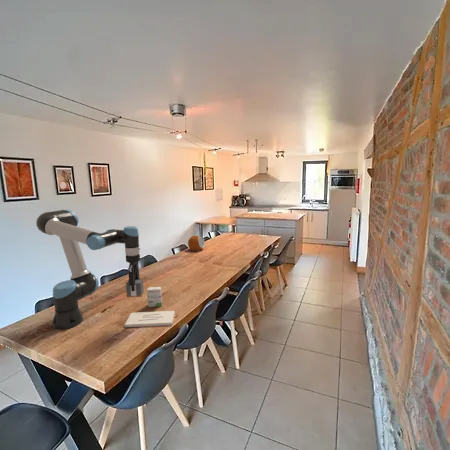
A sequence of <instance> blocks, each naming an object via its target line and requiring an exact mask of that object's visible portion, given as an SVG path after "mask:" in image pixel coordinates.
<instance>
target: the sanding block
mask: <svg viewBox="0 0 450 450" xmlns="http://www.w3.org/2000/svg"><path fill="white" fill-rule="evenodd" d="M135 285H136V296H131V286H129V279H128V280H127V282H126V283H125V287H126V289H125V290H126V291H125V292H126V298H141V297H142V296H143V294H144V293H145V291H144V279H142V278H140V280H135Z"/></svg>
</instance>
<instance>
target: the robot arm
mask: <svg viewBox="0 0 450 450" xmlns="http://www.w3.org/2000/svg"><path fill="white" fill-rule="evenodd" d="M78 225H79V217H78V215H77V214H76V213H75V212H74V211H72V210H71V209H60V210H54V211H46V212H45V211H44V212H43V213H41V214H40V215H38V217H37V218H36V225H35V226H36V227H37V229H38V230H39V232H41V233H43V234H46V235H49V236H54V235H55V236H57V237H59V240H60V242H61V246H62V248H63V251H64V255H65V258H66V261H67V263H68V267H69V270H70V272H71V273H70V274H71V276H70V278H69V280H64V281H61V282H59V283H56V284H55V285H54V287H53V288H52V299H53V305H54V316H53V319H52V327H53V328H54V329H57V330H66V329H71V328H74V327H76V326H79V325H80V324H81V323H82V322H83V321H84V315H83V313H82V312H81V309H80V307H79V301H81V300H82V299H84V298H86V297H88V296H90V295H92V294H94V293H95V292H96V291H97V290H98V289H99V286H100V284H99V283H100V282H99V279H98V277H97V276H96V275H95V274H93V273H92V272H91V270H89V269H88V268H87V264H86V261H85V258H84V255H83V253H82V250H81V247H80V244H79V243H81V244H84V245H87V247H88V248H89V249H90V250H92V251H96V250H101V249H104V248H106V247H109V246H112V245H115V244H124V253H125V262H126V263H129V265H128V268H127V270H128V280H129V286H131V296H136V285H135V280H141V277H140V269H139V261H141V255H140V250H141V248H140V238H139V235H140V233H139V228H138V227H137V226H133V225H132V226H131V225H129V226H125V227H124V228H123V229H115V228H113V229H112V228H111V229H106V231H104V232H95V231H93V230H90V229H85V228H83V227H79V226H78Z"/></svg>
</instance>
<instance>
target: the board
mask: <svg viewBox="0 0 450 450" xmlns="http://www.w3.org/2000/svg"><path fill="white" fill-rule="evenodd" d="M175 314H176V311H175V310H165V311H164V310H162V311H161V310H160V311H142V312H139V311H138V312H131V313H130V314H129V316H128V318H127V320H126V321H125V323H124V328H137V327H159V326H173V323H174V319H175Z"/></svg>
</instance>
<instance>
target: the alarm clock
mask: <svg viewBox="0 0 450 450" xmlns="http://www.w3.org/2000/svg"><path fill="white" fill-rule="evenodd" d="M187 245H188V248H189V250H190V251H192V252H200V251H202V250H203V248H204V247H205V239H204V238H203V237H202V236H200V235H198V234H194V235H192V236H191V237H189V239H188V240H187Z"/></svg>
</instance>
